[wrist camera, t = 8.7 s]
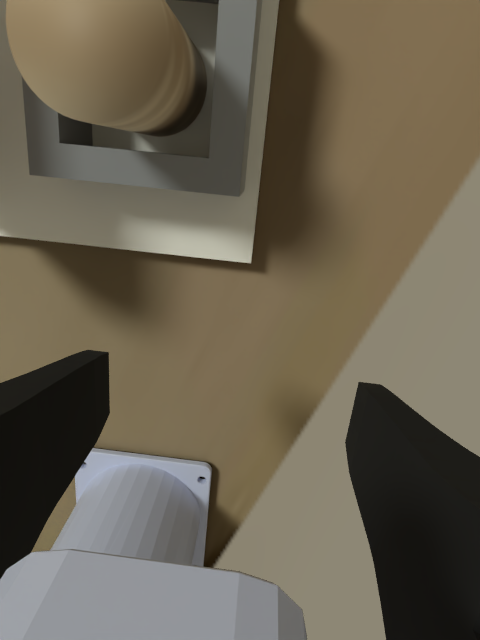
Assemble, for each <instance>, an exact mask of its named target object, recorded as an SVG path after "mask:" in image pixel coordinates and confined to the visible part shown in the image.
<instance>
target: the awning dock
mask: <svg viewBox="0 0 480 640" xmlns="http://www.w3.org/2000/svg"><path fill="white" fill-rule="evenodd" d="M165 2H166V3H167V5H168V6H169V7H170V9H171V10H172V12H173V13H174V15H175V16H176V18H177V19H178V21H179V22H180V24H181V25H182V27H183V28H184V30H185V31H186V33H187V34H188V36H189V37H190V39H191V40H192V42H193V43H194V45H195V46H196V48H197V49H198V51H199V53H200V55H201V57H202V59H203V62H204V66H205V69H206V75H207V91H206V97H205V101H204V104H203V107H202V109H201V111H200V113H199V114H198V116H197V118H196V119H195V120H194V121H193V122H192V123H191V124H190V125H189V126H188V127H187V128H186V129H184V130H183V131H181V132H179V133H177V134H174V135H171V136H165V137H157V136H150V135H145V134H140V133H135V132H131V131H126V130H121V129H116V128H111V127H106V126H101V125H96V124H91V123H87V122H82V121H78V120H74V119H71V118H69V117H66V116H64V115H62V114H60V113H58V112H56V111H55V110H53V109H52V108H50V107H49V106H48V105H46V104H45V103H44V102H43V101H42V100H41V99H40V98H39V97H38V96H37V95H36V94H35V93H34V92H33V91H32V90H31V88H30V87H29V86H28V84H27V83H26V81H25V80H24V78H23V77H22V75H21V73H20V71H19V69H18V68H17V65H16V63H15V60H14V58H13V55H12V52H11V49H10V46H9V41H8V36H7V29H6V3H7V0H0V236H6V237H15V238H24V239H33V240H42V241H52V242H61V243H70V244H79V245H88V246H97V247H106V248H115V249H124V250H133V251H143V252H152V253H161V254H170V255H179V256H188V257H197V258H206V259H215V260H225V261H234V262H243V263H251V260H252V253H253V243H254V234H255V224H256V215H257V206H258V196H259V187H260V177H261V168H262V158H263V149H264V140H265V130H266V121H267V111H268V102H269V93H270V83H271V74H272V64H273V55H274V45H275V36H276V27H277V17H278V8H279V0H165Z"/></svg>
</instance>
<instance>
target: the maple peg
mask: <svg viewBox="0 0 480 640" xmlns="http://www.w3.org/2000/svg"><path fill="white" fill-rule="evenodd" d="M6 29H7V36H8V41H9V46H10V49H11V52H12V55H13V58H14V60H15V63H16V65H17V68H18V69H19V71H20V73H21V75H22V77H23V78H24V80H25V81H26V83H27V84H28V86H29V87H30V88H31V90H32V91H33V92H34V93H35V94H36V95H37V96H38V97H39V98H40V99H41V100H42V101H43V102H44V103H45V104H46V105H48V106H49V107H50V108H52V109H53V110H55V111H56V112H58V113H60V114H62V115H64V116H66V117H69V118H71V119H74V120H78V121H82V122H87V123H91V124H96V125H101V126H106V127H111V128H116V129H121V130H126V131H131V132H135V133H140V134H145V135H150V136H157V137H165V136H171V135H174V134H177V133H179V132H181V131H183V130H184V129H186V128H187V127H188V126H189V125H190V124H191V123H192V122H193V121H194V120H195V119H196V118H197V116H198V114H199V113H200V111H201V109H202V107H203V104H204V101H205V97H206V91H207V75H206V69H205V66H204V62H203V59H202V57H201V55H200V53H199V51H198V49H197V48H196V46H195V45H194V43H193V42H192V40H191V39H190V37H189V36H188V34H187V33H186V31H185V30H184V28H183V27H182V25H181V24H180V22H179V21H178V19H177V18H176V16H175V15H174V13H173V12H172V10H171V9H170V7H169V6H168V5H167V3H166V2H165V0H7V3H6Z"/></svg>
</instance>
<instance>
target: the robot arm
mask: <svg viewBox="0 0 480 640" xmlns="http://www.w3.org/2000/svg"><path fill="white" fill-rule="evenodd" d="M109 413H110V407H109V352H101V351H93V350H86V351H82V352H79V353H76V354H74V355H71V356H68V357H66V358H63V359H61V360H59V361H56V362H54V363H51V364H49V365H46V366H44V367H42V368H39V369H37V370H34V371H32V372H29V373H27V374H24V375H21V376H19V377H16V378H13V379H10V380H8V381H5V382H2V383H0V640H307V635H306V629H305V623H304V617H303V612H302V609H301V608H300V607H299V606H298V605H297V604H296V603H295V602H294V601H293V600H292V599H291V598H290V597H289V596H288V595H287V594H285V593H284V591H282V590H281V589H280V588H279V587H278V586H277V585H276V584H274V583H272V582H269V581H266V580H263V579H260V578H257V577H254V576H251V575H248V574H245V573H242V572H239V571H232V570H225V569H217V568H210V567H203V565H204V554H205V543H206V531H207V520H208V509H209V497H210V486H211V474H212V468H211V466H210V465H209V464H208V463H205V462H200V461H192V460H184V459H176V458H168V457H160V456H152V455H144V454H136V453H128V452H120V451H112V450H105V449H97V448H93V447H94V445H95V444H96V442H97V440H98V438H99V436H100V434H101V432H102V429H103V427H104V425H105V423H106V420H107V418H108V416H109ZM345 443H346V451H347V459H348V466H349V473H350V477H351V481H352V485H353V488H354V492H355V495H356V499H357V502H358V506H359V510H360V513H361V517H362V520H363V523H364V527H365V531H366V534H367V538H368V541H369V544H370V549H371V553H372V557H373V561H374V567H375V572H376V578H377V584H378V590H379V596H380V601H381V608H382V614H383V621H384V627H385V634H386V640H480V457H479V456H477V455H476V454H474V453H472V452H470V451H469V450H468V449H466V448H465V447H463V446H461V445H460V444H459V443H457V442H456V441H454V440H453V439H451V438H450V437H449V436H447V435H446V434H444V433H443V432H442V431H440V430H439V429H437V428H436V427H435V426H433V425H432V424H431V423H430V422H428V421H427V420H426V419H424V418H423V417H422V416H421V415H419V414H418V413H417V412H415V411H414V410H413V409H412V408H410V407H409V406H408V405H407V404H405V403H404V402H403V401H402V400H401V399H399V398H398V397H397V396H396V395H394V394H393V393H392V392H391V391H389V390H388V389H386V388H385V387H384V386H382V385H380V384H371V383H363V382H359V383H358V388H357V392H356V397H355V401H354V406H353V410H352V415H351V419H350V425H349V428H348V433H347V437H346V442H345ZM84 462H85V463H86V464H84ZM201 476H202V477H205V479H201V478H200V477H201ZM74 477H75V486H76V506H75V508H74V510H73V511H72V513H71V515H70V517H69V518H68V520H67V522H66V524H65V525H64V527H63V529H62V531H61V532H60V534H59V536H58V538H57V539H56V541H55V543H54V545H53V546H52V548H51V550H50V551H38V552H32V553H31V551H32V549H33V547H34V545H35V543H36V541H37V539H38V537H39V535H40V533H41V531H42V529H43V527H44V525H45V524H46V522H47V520H48V518H49V516H50V515H51V513H52V511H53V509H54V508H55V506H56V504H57V503H58V501H59V500H60V498H61V497H62V495H63V494H64V492H65V490H66V489H67V487H68V486H69V484H70V483H71V481H72V480H73V478H74Z"/></svg>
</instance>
